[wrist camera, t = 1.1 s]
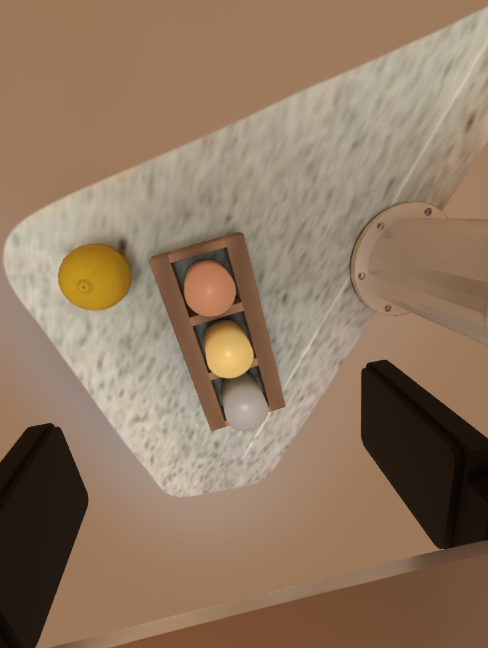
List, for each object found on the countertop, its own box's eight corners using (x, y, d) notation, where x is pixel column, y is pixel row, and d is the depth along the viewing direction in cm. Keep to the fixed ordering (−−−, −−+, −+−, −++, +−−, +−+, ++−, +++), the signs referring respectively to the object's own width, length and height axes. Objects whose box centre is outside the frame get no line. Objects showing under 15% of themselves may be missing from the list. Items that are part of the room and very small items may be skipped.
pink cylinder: (222, 253, 30) (228, 260, 26) (233, 295, 32) (241, 308, 28) (178, 266, 30) (177, 274, 26) (192, 308, 32) (193, 322, 28)
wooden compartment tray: (238, 232, 32) (243, 234, 29) (278, 392, 39) (285, 406, 37) (151, 256, 31) (148, 261, 29) (209, 415, 39) (211, 431, 36)
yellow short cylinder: (239, 314, 33) (247, 329, 29) (249, 351, 34) (258, 370, 30) (198, 327, 33) (200, 343, 28) (210, 363, 34) (214, 384, 30)
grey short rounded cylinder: (253, 367, 35) (263, 388, 31) (262, 399, 37) (272, 422, 33) (216, 379, 35) (220, 401, 31) (226, 411, 37) (232, 436, 32)
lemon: (135, 299, 33) (121, 325, 25) (76, 293, 31) (44, 319, 24) (137, 244, 31) (123, 254, 23) (76, 236, 30) (40, 244, 22)
